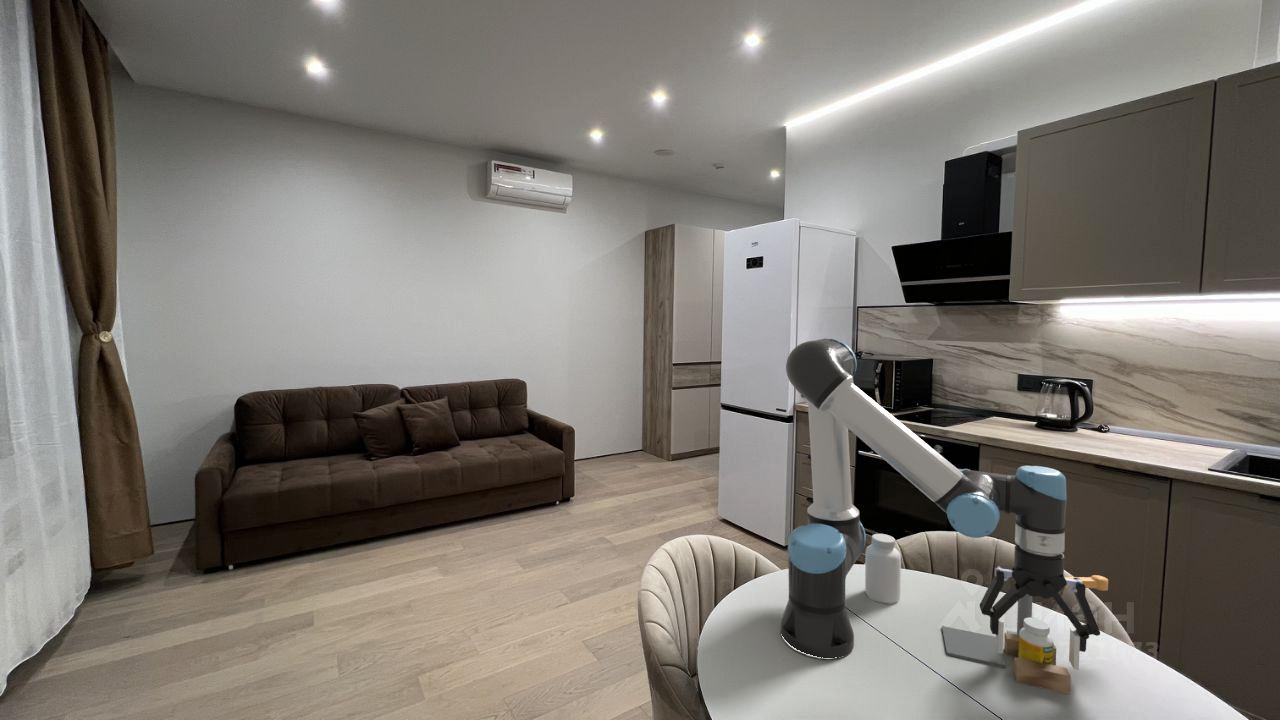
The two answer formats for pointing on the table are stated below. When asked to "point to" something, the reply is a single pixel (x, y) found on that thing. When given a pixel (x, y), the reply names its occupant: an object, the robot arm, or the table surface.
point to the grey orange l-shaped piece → (1089, 582)
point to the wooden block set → (1036, 668)
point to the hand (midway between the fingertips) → (1035, 657)
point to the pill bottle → (883, 569)
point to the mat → (972, 646)
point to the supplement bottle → (1036, 641)
